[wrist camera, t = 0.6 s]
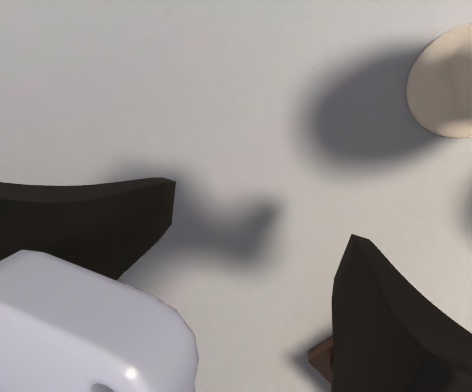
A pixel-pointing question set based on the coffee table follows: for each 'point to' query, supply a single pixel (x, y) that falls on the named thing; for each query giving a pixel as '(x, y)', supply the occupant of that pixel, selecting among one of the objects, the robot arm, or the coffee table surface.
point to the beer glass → (444, 85)
